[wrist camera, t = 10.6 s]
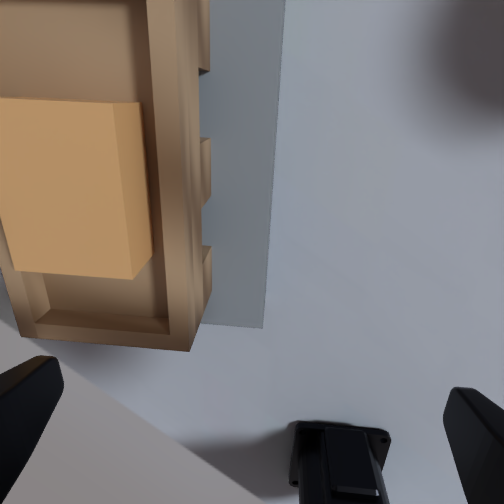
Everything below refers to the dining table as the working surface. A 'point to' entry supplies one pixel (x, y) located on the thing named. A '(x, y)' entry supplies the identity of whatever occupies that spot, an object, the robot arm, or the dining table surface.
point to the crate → (75, 186)
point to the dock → (240, 153)
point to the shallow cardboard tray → (157, 150)
